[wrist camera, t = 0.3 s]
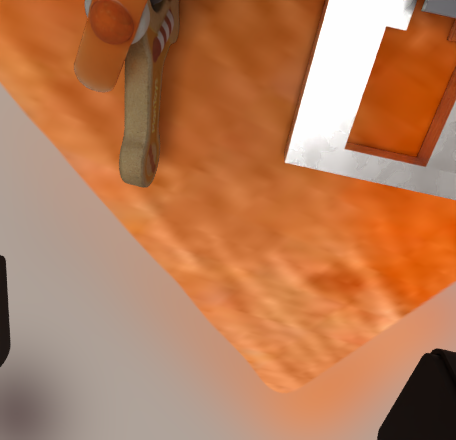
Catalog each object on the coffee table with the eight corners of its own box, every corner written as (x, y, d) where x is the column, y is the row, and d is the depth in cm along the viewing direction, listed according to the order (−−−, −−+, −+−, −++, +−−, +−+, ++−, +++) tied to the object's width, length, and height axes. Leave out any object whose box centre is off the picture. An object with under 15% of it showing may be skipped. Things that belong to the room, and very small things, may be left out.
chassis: (378, -197, 27) (388, -216, 24) (620, -143, 27) (652, -157, 24) (284, 153, 38) (284, 162, 36) (454, 190, 38) (466, 202, 36)
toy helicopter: (232, -103, 30) (203, -180, 17) (201, 168, 39) (169, 239, 27) (120, -120, 30) (14, -207, 18) (117, 154, 39) (47, 219, 27)
